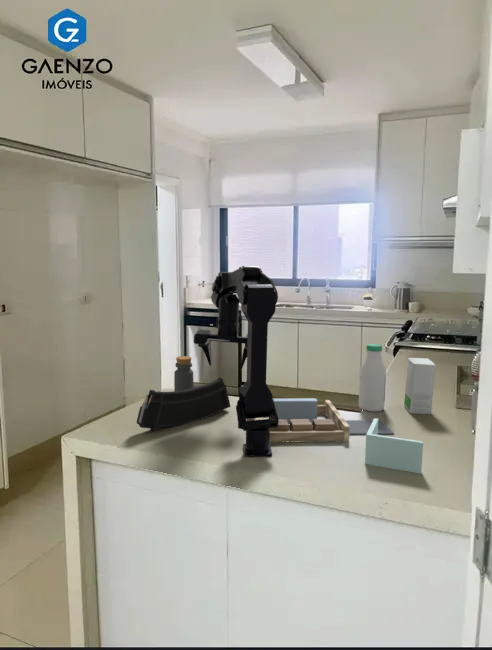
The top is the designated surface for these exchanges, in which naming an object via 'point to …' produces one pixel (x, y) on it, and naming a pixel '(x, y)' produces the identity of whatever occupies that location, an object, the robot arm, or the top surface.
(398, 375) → the top surface
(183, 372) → the bottle
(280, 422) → the offcut
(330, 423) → the offcut
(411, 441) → the l-shaped corner panel
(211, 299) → the robot arm
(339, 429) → the frame
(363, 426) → the mat
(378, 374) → the milk bottle
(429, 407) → the skincare box
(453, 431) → the top surface
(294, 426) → the offcut
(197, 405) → the magazine
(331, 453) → the top surface
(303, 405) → the light blue rectangular panel
